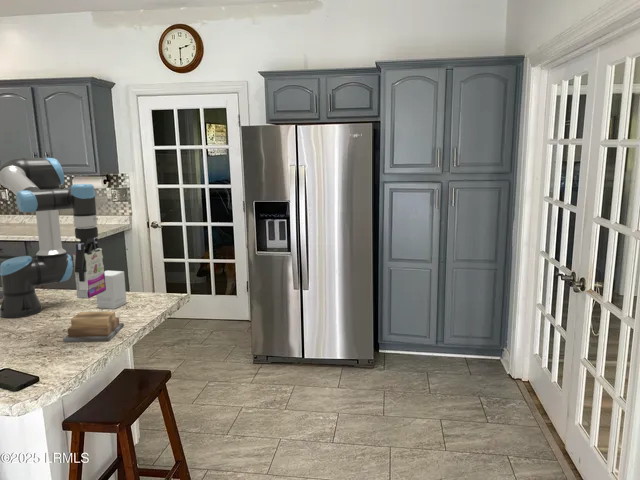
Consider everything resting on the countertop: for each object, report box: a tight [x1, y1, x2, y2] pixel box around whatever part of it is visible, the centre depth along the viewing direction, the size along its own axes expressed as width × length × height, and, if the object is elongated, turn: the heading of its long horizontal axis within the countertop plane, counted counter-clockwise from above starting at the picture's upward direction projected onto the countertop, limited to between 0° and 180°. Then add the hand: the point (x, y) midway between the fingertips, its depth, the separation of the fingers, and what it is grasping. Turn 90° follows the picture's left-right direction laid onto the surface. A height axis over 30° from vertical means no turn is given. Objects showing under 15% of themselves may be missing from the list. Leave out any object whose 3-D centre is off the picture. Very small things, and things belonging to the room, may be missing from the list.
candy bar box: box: [72, 247, 106, 300], centre depth 182 cm, size 11×5×16 cm, turn 171°
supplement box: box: [95, 270, 127, 310], centre depth 219 cm, size 9×9×15 cm
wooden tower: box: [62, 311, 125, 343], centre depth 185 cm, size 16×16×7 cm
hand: (91, 285), depth 183 cm, fingers closed on candy bar box, 12 cm apart
